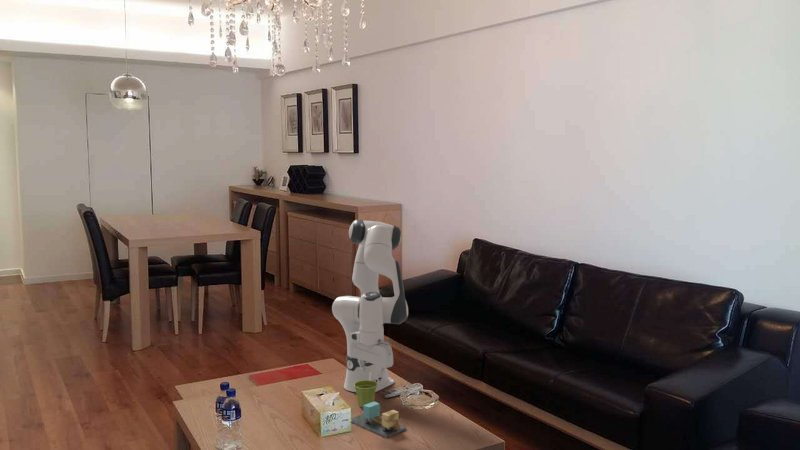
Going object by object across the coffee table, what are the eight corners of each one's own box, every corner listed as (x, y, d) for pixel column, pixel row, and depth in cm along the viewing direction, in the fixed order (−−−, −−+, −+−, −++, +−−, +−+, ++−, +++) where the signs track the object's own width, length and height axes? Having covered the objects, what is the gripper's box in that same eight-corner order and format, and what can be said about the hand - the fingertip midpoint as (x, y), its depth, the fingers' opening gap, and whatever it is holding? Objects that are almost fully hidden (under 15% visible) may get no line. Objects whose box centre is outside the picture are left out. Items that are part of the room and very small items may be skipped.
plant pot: (349, 407, 264) (349, 386, 264) (360, 399, 273) (359, 378, 272) (371, 411, 261) (371, 389, 260) (381, 402, 270) (381, 381, 269)
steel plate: (369, 414, 258) (369, 411, 258) (406, 429, 244) (406, 426, 244) (349, 421, 251) (349, 418, 251) (386, 438, 237) (386, 435, 237)
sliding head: (374, 416, 252) (374, 401, 252) (379, 419, 250) (379, 403, 249) (363, 420, 248) (363, 405, 248) (368, 423, 246) (368, 407, 246)
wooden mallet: (365, 413, 256) (365, 398, 255) (400, 428, 242) (400, 412, 242) (354, 417, 252) (354, 402, 251) (389, 433, 238) (389, 416, 238)
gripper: (397, 341, 240) (397, 378, 242) (360, 330, 255) (360, 365, 257) (384, 344, 236) (384, 382, 238) (347, 333, 251) (347, 369, 252)
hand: (371, 373), depth 247 cm, fingers open, 8 cm apart
